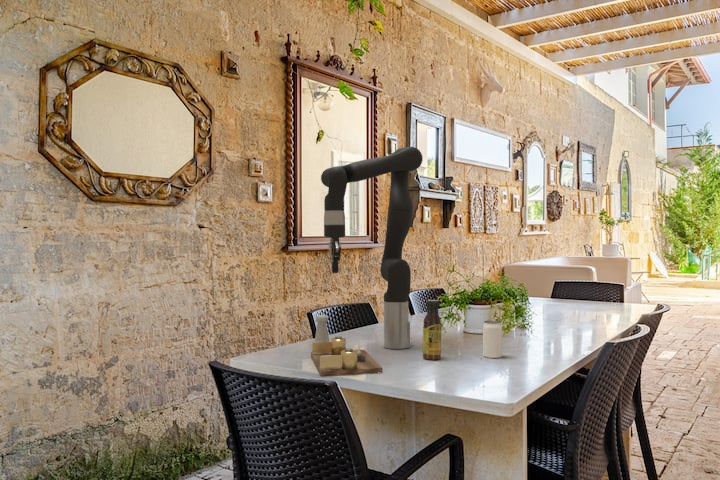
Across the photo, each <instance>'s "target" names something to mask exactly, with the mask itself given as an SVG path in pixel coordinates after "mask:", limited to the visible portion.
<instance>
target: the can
mask: <svg viewBox="0 0 720 480" xmlns="http://www.w3.org/2000/svg"><path fill="white" fill-rule="evenodd" d="M483 322H484V323H483V325H482V352H483V354H482V355H483V357H484V358H487V359H500V358H502V357H503V325H502V322H501V321H500V320H484V321H483Z"/></svg>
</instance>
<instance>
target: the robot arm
mask: <svg viewBox="0 0 720 480" xmlns="http://www.w3.org/2000/svg"><path fill="white" fill-rule="evenodd" d="M422 164H423V154H422V152H421V151H420V149H419V148H417V147H415V146H405V147H402V148H401V147H400V148H397V149H396V150H395V151H393V153H392V154H388V155H385V156H379V157H373V158H368V159H362V160H357V161H355V162H354V161H353V162H350V163H347V164H345V165H339V166H332V167H328V168H326V169H324V171H322V172H321V175H320V180H321V183H322V184H323V185H324V187H327V188H328V190H327V193H326V195H325V197H324V199H323V201H324V202H323V205H324V206H323V207H324V213H323V236H324V238H330V242H328V250H329V260H330V262H331V273H332V274H338V273H340V271H339V263H340V260H341V250H342V242H340V238H345V237H346V214H345V195H346V191H347V186H348V184H349V183H355V182H360V181H361V182H362V181H365V180H370V179H372V178H375V177H378V176H379V177H380V176H382V175H385V174H388V173H390V186H389V187H390V189H389V198H388V199H389V201H388V208H387V216H386V217H387V218H386V229H385V239H384V240H385V241H384V247H383V248H384V249H383V253H382V254H383V255H382V257H381V264H380V275H381V277H382V279H383V280H384V281H386V282H387V290H386V292H385V293H384V294H383V347H384V348H385V349H389V350H403V349H407V348H410V349H411V322H410V321H409V296H410V293H411V283H412V282H411V281H412V280H411V279H412V278H411V277H412V276H411V267H410V266H411V265H410V264H409V263H408V262H407V261H406V259H403V248H404V247H403V246H404V244H405V240H406V239H407V236H408V234H409V232H410V229H411V225H412V218H413V209H414V208H413V202H412V199H411V195H410V192H409V184H408V183H409V177H410V172H415V170H417V169H419V168H420V166H422Z"/></svg>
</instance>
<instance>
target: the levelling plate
mask: <svg viewBox="0 0 720 480" xmlns="http://www.w3.org/2000/svg"><path fill="white" fill-rule="evenodd" d="M355 350H356V351H357V368H356V369H342V368H341V367H330V368H320V356H324V355H334V354H331V352H317V353H312V351H311V352H310V357H311V360H312V361H313V363H314V365H315V367H316V369H317V372H318V373H319V376H320V377H331V376H332V377H333V376H346V375H345V374H352V375H357V374H356V373H370V374H379V373H378V372H383V367H382V365H380V364H379V363H378V362H377V361H376V360H375V358H373V357H372V355H370V353H368V352H367V350H365V349H358V348H356V349H355Z"/></svg>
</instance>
